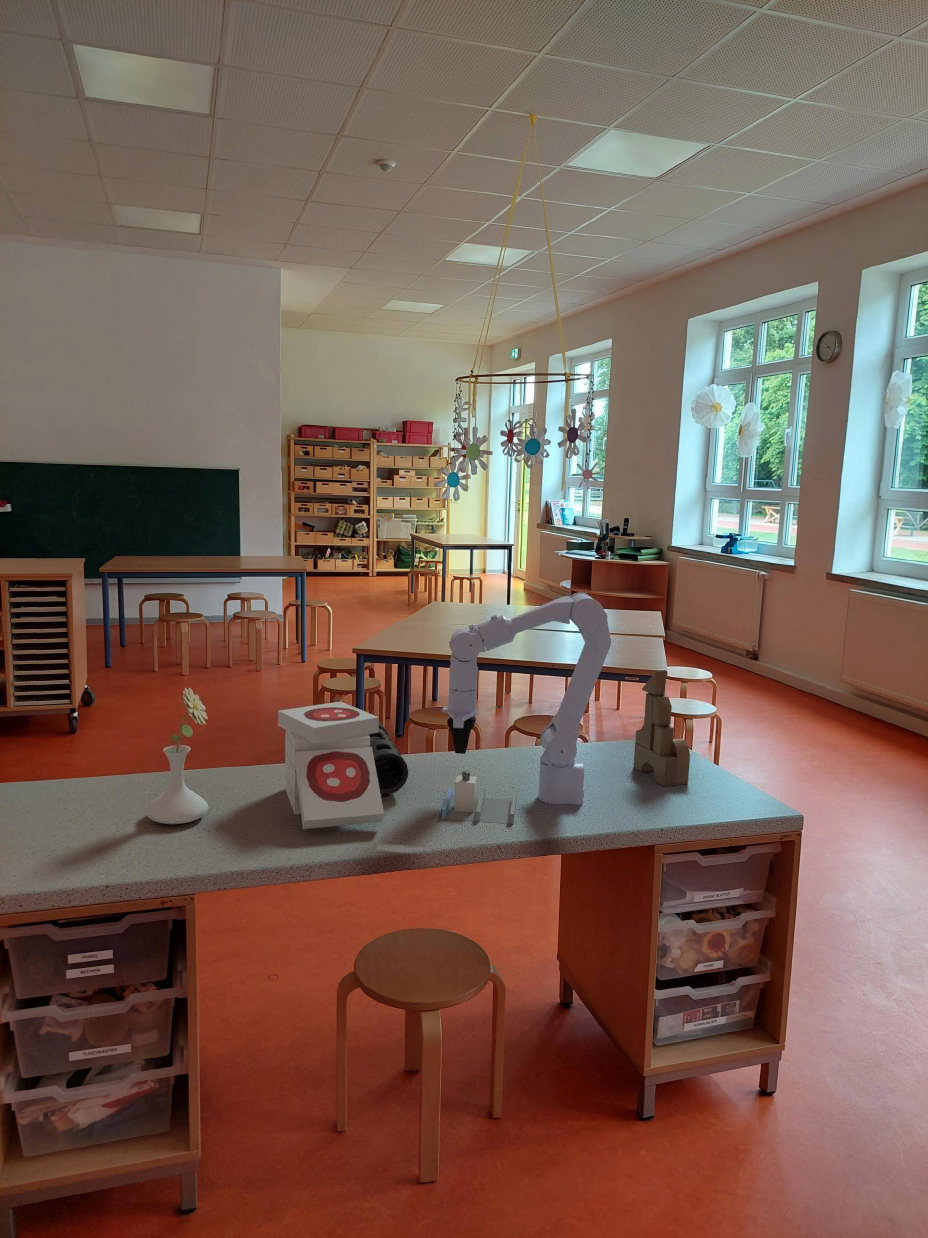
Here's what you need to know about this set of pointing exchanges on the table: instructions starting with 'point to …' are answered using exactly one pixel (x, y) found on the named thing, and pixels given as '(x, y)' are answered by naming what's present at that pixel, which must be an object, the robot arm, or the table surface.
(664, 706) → the wooden toy
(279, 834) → the table surface
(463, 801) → the plug
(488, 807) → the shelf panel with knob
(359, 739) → the pizza boxes
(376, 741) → the muzzle brake
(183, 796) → the flower in vase
